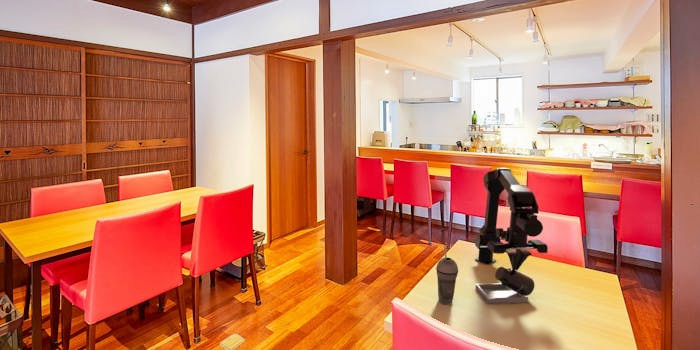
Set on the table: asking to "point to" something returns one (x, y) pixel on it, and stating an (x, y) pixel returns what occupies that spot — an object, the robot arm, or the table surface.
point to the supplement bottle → (515, 280)
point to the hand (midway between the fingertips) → (514, 269)
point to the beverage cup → (446, 279)
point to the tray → (499, 294)
